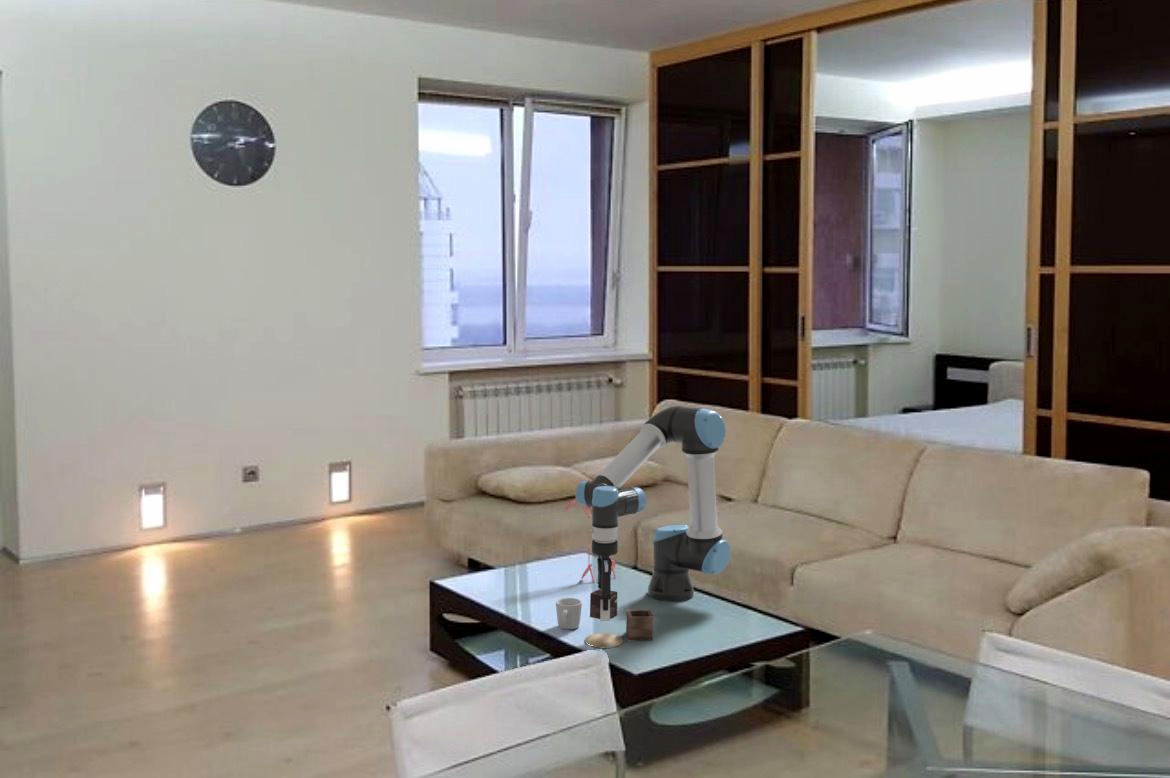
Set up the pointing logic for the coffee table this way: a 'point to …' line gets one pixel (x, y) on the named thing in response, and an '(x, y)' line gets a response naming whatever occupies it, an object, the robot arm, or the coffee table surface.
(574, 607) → the cup
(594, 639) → the coaster
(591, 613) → the box
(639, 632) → the pen pot
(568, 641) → the coffee table surface
